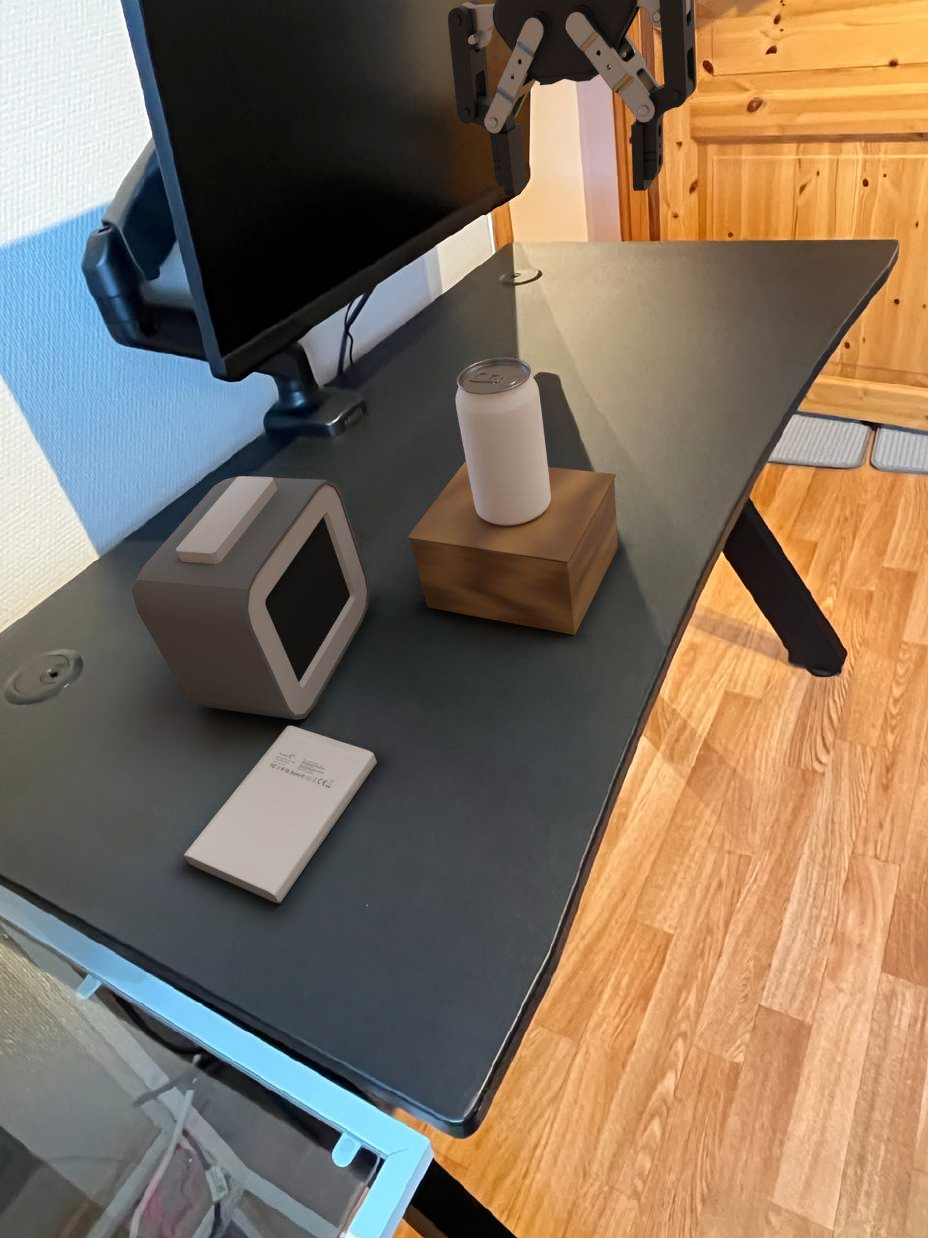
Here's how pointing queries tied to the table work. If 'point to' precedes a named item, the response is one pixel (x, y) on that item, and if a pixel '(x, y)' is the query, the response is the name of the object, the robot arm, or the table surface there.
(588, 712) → the table surface
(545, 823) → the table surface
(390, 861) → the table surface
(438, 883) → the table surface
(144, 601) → the alarm clock
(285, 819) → the hard drive
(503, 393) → the can
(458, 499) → the wooden block
